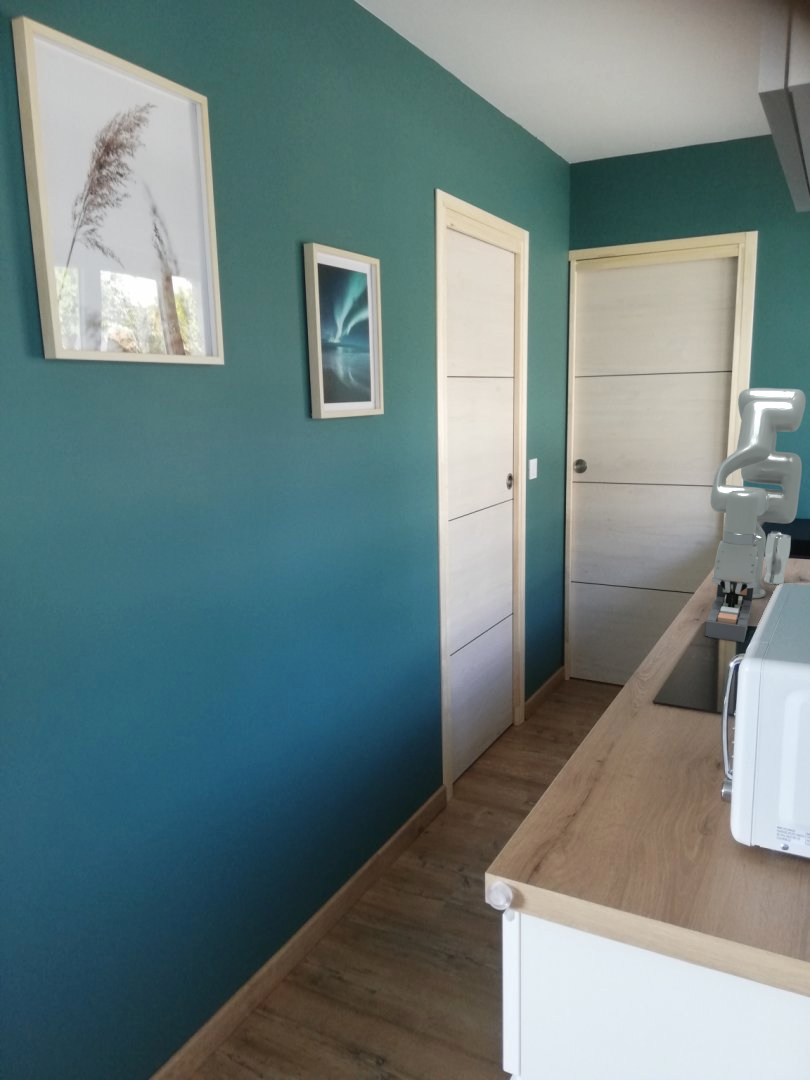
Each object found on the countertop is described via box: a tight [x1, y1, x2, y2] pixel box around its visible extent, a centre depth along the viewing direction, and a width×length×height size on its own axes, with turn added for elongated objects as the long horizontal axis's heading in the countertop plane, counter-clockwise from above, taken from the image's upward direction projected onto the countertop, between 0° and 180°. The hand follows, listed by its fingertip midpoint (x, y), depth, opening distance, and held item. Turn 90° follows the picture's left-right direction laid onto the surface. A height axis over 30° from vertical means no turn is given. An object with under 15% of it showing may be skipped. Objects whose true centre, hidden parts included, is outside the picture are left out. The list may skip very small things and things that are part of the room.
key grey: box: [720, 606, 739, 618], centre depth 206 cm, size 4×4×2 cm
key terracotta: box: [717, 613, 737, 624], centre depth 200 cm, size 4×4×2 cm
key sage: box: [723, 603, 741, 611], centre depth 211 cm, size 4×4×2 cm
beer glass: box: [762, 533, 792, 586], centre depth 250 cm, size 7×7×15 cm
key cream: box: [724, 595, 743, 605], centre depth 217 cm, size 4×4×2 cm
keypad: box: [704, 582, 754, 643], centre depth 209 cm, size 27×9×9 cm, turn 154°
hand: (731, 606), depth 211 cm, fingers closed
